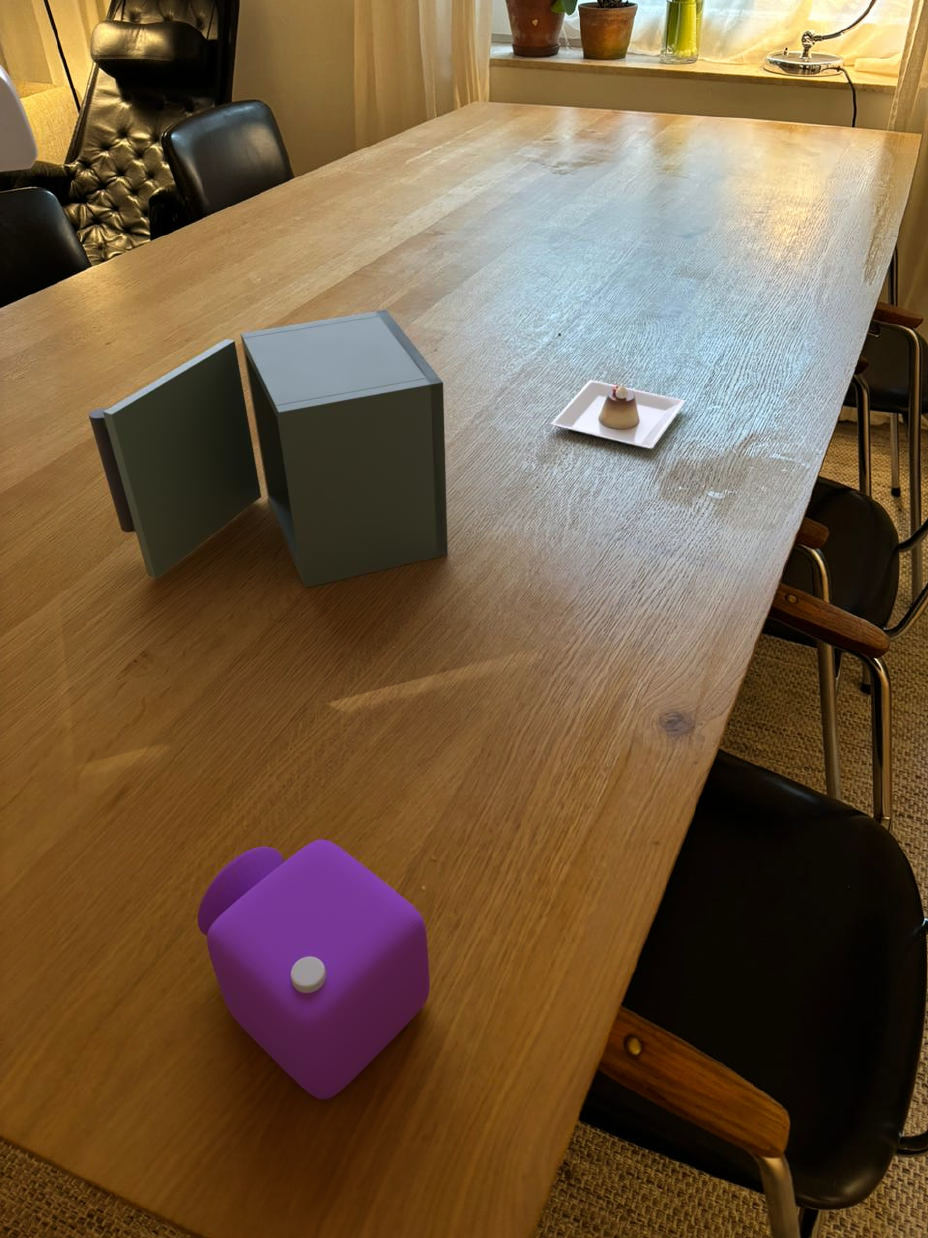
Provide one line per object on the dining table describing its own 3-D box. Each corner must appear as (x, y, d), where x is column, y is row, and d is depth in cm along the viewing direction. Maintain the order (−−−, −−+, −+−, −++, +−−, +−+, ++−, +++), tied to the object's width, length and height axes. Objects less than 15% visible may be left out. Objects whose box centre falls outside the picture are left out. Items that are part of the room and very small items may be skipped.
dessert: (589, 387, 120) (592, 350, 117) (685, 409, 116) (691, 371, 113) (549, 432, 112) (551, 394, 109) (651, 457, 108) (656, 418, 104)
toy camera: (279, 880, 67) (258, 783, 60) (452, 974, 61) (449, 879, 55) (166, 1011, 60) (128, 917, 53) (350, 1131, 54) (332, 1042, 48)
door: (108, 561, 94) (59, 398, 83) (216, 482, 104) (185, 327, 93) (156, 579, 91) (111, 414, 80) (261, 497, 102) (234, 340, 91)
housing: (304, 588, 91) (278, 412, 79) (267, 498, 102) (240, 332, 91) (448, 554, 95) (443, 381, 83) (397, 471, 106) (386, 309, 94)
